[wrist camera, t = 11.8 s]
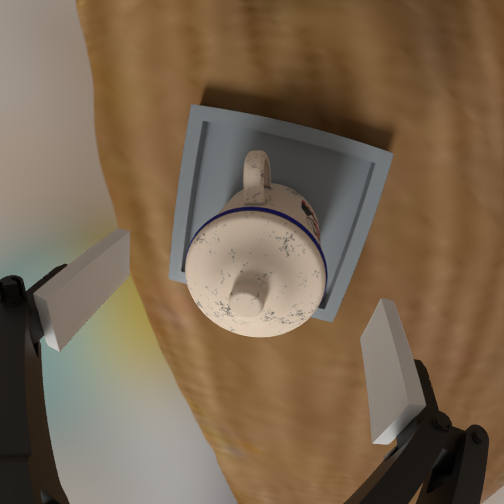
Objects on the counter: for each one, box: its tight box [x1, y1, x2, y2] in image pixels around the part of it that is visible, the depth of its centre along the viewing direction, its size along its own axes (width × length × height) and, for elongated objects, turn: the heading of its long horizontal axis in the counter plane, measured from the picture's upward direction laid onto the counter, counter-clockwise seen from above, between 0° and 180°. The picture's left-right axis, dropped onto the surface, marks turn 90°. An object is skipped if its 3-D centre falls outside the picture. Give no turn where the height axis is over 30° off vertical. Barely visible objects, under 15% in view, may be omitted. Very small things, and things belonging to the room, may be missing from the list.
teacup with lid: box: [185, 150, 328, 337], centre depth 21 cm, size 12×9×12 cm
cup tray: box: [169, 104, 393, 322], centre depth 26 cm, size 16×16×2 cm
